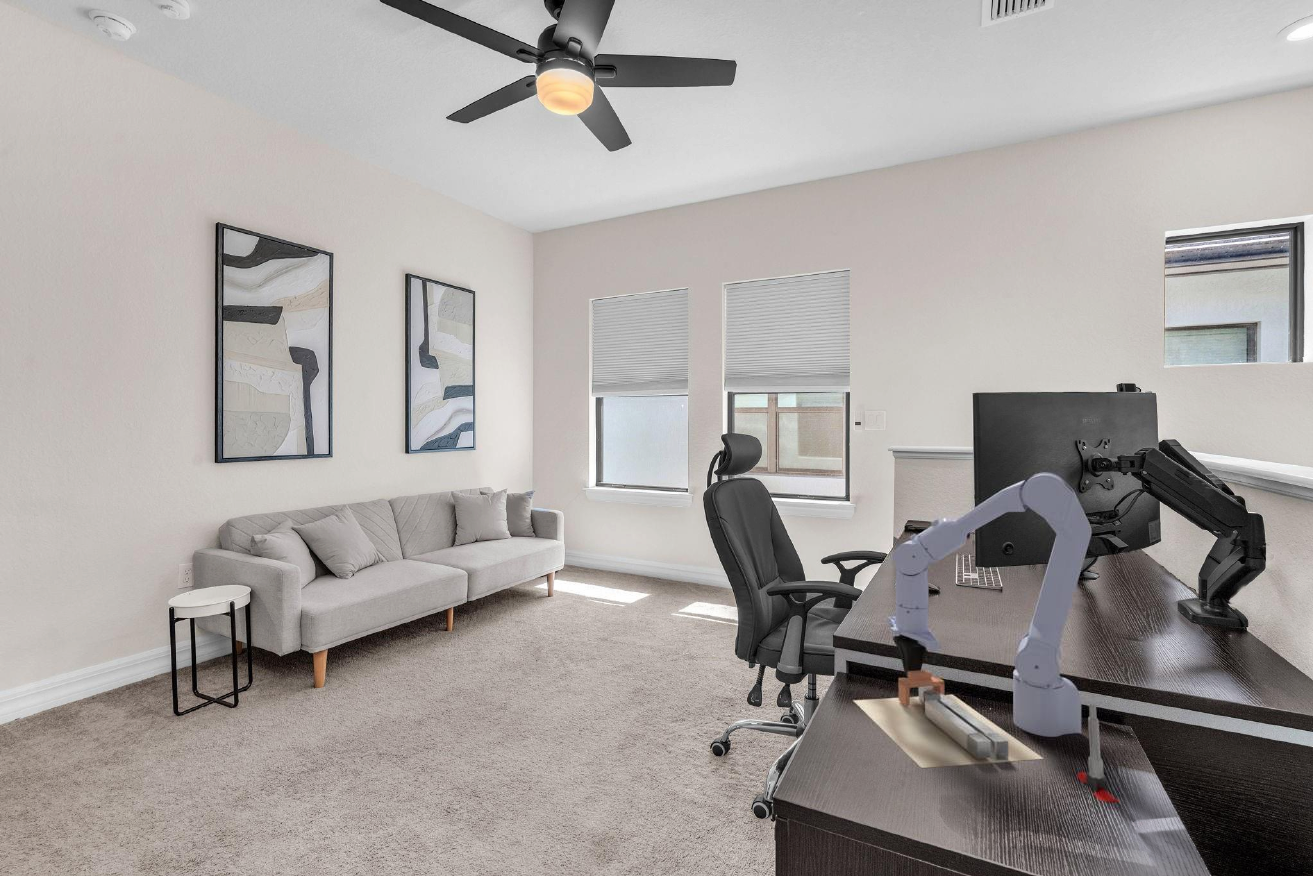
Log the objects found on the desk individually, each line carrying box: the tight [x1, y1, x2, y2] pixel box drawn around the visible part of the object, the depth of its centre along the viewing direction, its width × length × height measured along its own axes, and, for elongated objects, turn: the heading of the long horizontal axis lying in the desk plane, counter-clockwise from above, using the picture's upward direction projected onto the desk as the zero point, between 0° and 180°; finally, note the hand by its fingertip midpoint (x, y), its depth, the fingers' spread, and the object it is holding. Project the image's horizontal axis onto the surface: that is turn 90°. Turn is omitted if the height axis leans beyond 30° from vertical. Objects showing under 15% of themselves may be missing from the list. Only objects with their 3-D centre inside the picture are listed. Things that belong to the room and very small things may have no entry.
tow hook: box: [1075, 702, 1119, 803], centre depth 83 cm, size 8×13×9 cm
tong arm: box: [925, 700, 991, 759], centre depth 96 cm, size 2×14×3 cm, turn 6°
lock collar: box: [898, 669, 945, 706], centre depth 109 cm, size 8×2×5 cm, turn 97°
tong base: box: [918, 686, 1008, 760], centre depth 100 cm, size 4×21×3 cm, turn 7°
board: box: [852, 694, 1044, 769], centre depth 100 cm, size 20×22×1 cm
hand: (912, 676), depth 112 cm, fingers closed
